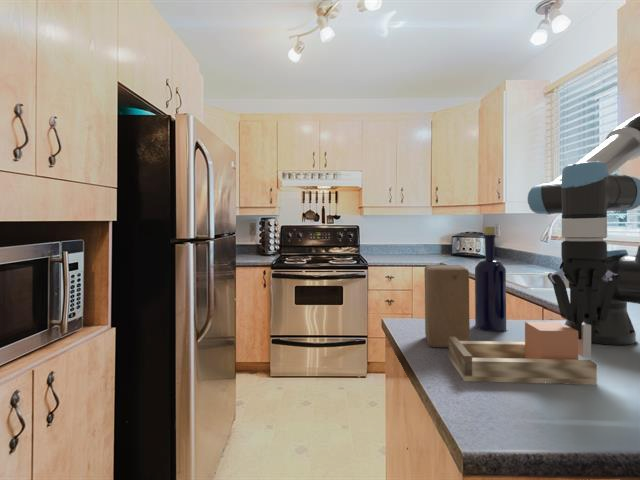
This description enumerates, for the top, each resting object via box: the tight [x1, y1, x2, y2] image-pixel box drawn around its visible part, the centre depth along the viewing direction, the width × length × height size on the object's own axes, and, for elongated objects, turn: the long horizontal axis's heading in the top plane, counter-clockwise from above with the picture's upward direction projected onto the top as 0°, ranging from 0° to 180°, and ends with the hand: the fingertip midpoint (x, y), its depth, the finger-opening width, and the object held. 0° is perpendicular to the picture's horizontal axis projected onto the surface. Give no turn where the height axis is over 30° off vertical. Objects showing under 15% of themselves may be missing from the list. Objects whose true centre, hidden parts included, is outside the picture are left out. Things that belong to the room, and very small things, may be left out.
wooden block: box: [423, 264, 471, 349], centre depth 95 cm, size 10×10×20 cm
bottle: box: [474, 226, 507, 333], centre depth 108 cm, size 9×9×30 cm
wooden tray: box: [448, 336, 598, 386], centre depth 77 cm, size 24×13×5 cm, turn 83°
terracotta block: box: [524, 321, 579, 360], centre depth 76 cm, size 7×7×8 cm
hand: (583, 354), depth 75 cm, fingers closed
